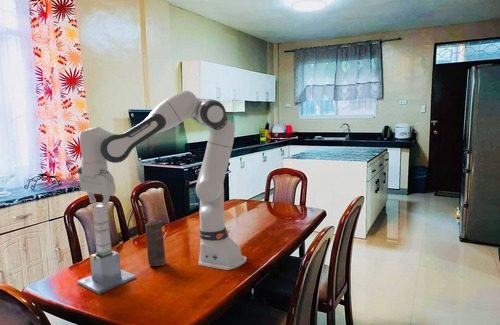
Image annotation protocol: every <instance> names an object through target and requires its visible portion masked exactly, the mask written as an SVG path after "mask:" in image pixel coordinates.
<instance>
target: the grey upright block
mask: <svg viewBox="0 0 500 325" xmlns="http://www.w3.org/2000/svg"><path fill="white" fill-rule="evenodd" d="M144 228H145V237H146V251H147V261H148V265H149V266H151V267H158V266H165V265H166V264H167V261H166V252H165V242H164V231H163V222H162V220H159V219H158V220H156V219H155V220H150V221H148V222H146V223H145V224H144Z"/></svg>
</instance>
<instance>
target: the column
mask: <svg viewBox="0 0 500 325" xmlns="http://www.w3.org/2000/svg"><path fill="white" fill-rule="evenodd" d="M91 209H92V218H93V222H92V224H93V227H94V228H93V231H94V237H95V238H94V239H95V247H96V250H95V251H96V252H95V254H96V253H97V257H100V258H104V257H106V256H109V255H112V251H113V249H112V241H111V232H110V231H111V227H110V225H109V224H110V220H109V212H108V210H109V209H108V205H107V206H104V205H103V203H100V204H97V205H92V206H91Z"/></svg>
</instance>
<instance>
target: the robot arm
mask: <svg viewBox="0 0 500 325" xmlns="http://www.w3.org/2000/svg"><path fill="white" fill-rule="evenodd" d="M190 118H194V119H195V121H197V122H198V123H200V124H201V125H204V126H208V128H209V135H208V140H207V143H206V148H205V151H204V152H205V153H204V157H203V160H202V164H201V167H200V170H199V172H198V177H197V180H196V184H195V193H196V197H197V198H198V199H199V210H198V211H199V212H198V213H199V225H200V227H199V238H200V244H199V245H200V246H199V255H198V266H202V267H205V268H206V267H207V268H213V269H218V270H224V271H229V270H233V269H236V268H239V267H240V266H242V265H243V264H245V263H246V262H247V259H248V258H247V256H245V255H243V254H242V250H241V247H240V246H239V245H238V244H237V243H236V242H235V241H234V240H233V239H232V238H231V237H230V236H229V234H230V231H231V230H227V227H226V224H225V188H224V187H225V186H224V183H225V177H226V174H227V170H228V166H229V162H230V159H231V154H232V149H233V145H234V140H235V132H236V130H235V129H236V128H235V124H234V123H233V122H232V121H231V120H229V119H228V116H227V111H226V108H225V106H224V105H223V104H222V102H220V101H218V100H215V99H212V98H198V97H197V96H196V95H195V93H193V92H191V91H189V90H183V91H180V92H178V93H176V94H174V95H171V96H170V97H168V98H166V99H165V100H162V101H161V102H160V103H159V104H158V105H156V106H155V107H154V108H153V109H152V110H151V111H150V113H149V114H148V116H146V117H145V119H144V120H142V121H141V122H140V123H138V124H136V125H135V126H133V127H131V128H130V129H128V130H126V131H125V132H123V133H120V134H118V133H115V132H110V131H108V130H106V129H104V128H102V127H100V126H96V127H91V128H87V129H84V130H82V131H81V133H80V134H79V147H80V154H81V157H82V160H81V166H80V167H78V168H77V169H76V171H77V174H78V181H79V187H80V190H81V191H82V192H86V195H87V197H88V199H89V202H90V203H91V204H95V203H97V198H95V194H97V195H102V197H103V200H102V203H101V204H103V205H104V206H107V207H108V206H109V205H110V203H109V202H110V201H109V200H110V197H111V196H112V195H114V194H115V193H116V190H117V189H116V182H115V180H114V176H113V175H112V174H111V173H110V171H109V169H108V168H109V167H108V163H109V162H110V163H115V164H117V163H121V162H124V161H125V160H126V159H127V158H128V157H129V155H130V153H131V152H132V150H133V149H135V147H137V146H138V145H140V144H141V143H143V142H144V141H146V140H147V139H150V137H152V136H154V135H156V134H159V133H162V132H165V131H168V130H171V129H173V128H175V127H177V126H178V125H180V124H182V123H183V122H184V121H186V120H188V119H190Z"/></svg>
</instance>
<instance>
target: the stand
mask: <svg viewBox="0 0 500 325" xmlns="http://www.w3.org/2000/svg"><path fill="white" fill-rule="evenodd" d="M89 261H90V270H91V275H89V276H85V277H84V278H81V279H79V280H77V284H78V285H79V286H82V287H84V288H86V290H89V291H92V292H93V293H95V294H97V295H101V294H102V293H103V294H104V293H106V292H108V291H110V290H113V289H114V288H117V287H119V286H122V285H123V284H125V283H128V282H130V281H133V280H135V279H137V276H136V274H134V273H131V272H128V271H127V270H123V269H121V260H120V253H119V252H117V251H114V250H112V255H109V256H106V257H104V258H100V257H97V253H96V252H95V253H93V254H90V255H89Z"/></svg>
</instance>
